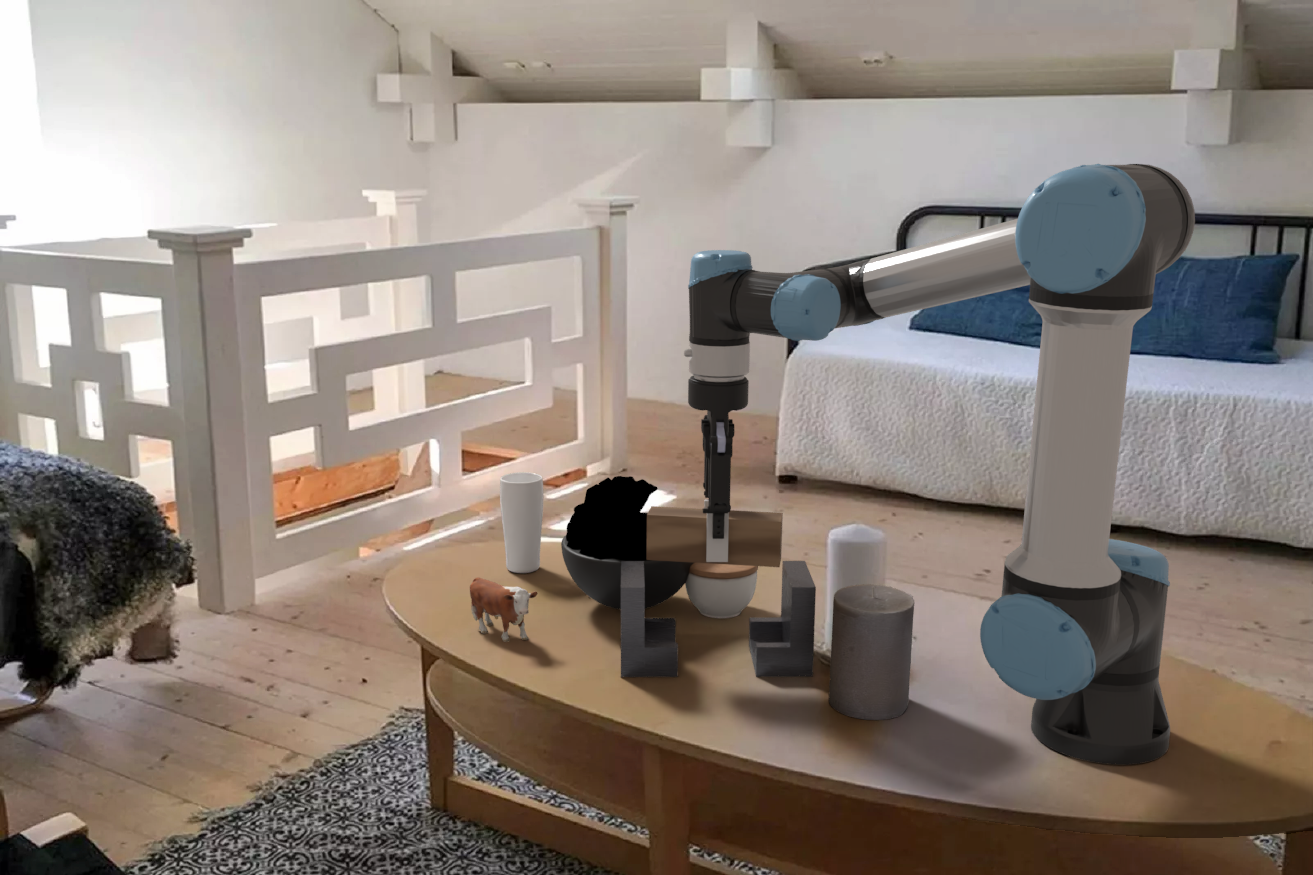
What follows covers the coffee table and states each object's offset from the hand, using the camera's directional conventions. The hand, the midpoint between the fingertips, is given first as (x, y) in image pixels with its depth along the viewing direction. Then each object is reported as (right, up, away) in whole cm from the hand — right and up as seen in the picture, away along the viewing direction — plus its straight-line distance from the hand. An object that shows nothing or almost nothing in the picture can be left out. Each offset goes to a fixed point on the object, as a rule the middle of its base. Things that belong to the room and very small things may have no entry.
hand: (715, 554), depth 170 cm
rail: (0, -1, 0) cm, 1 cm away
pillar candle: (+18, -18, -9) cm, 27 cm away
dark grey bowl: (-11, -10, +23) cm, 28 cm away
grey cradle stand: (0, -14, +4) cm, 15 cm away
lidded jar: (+2, -10, +22) cm, 24 cm away
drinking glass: (-29, -6, +40) cm, 49 cm away
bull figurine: (-28, -13, +12) cm, 33 cm away
